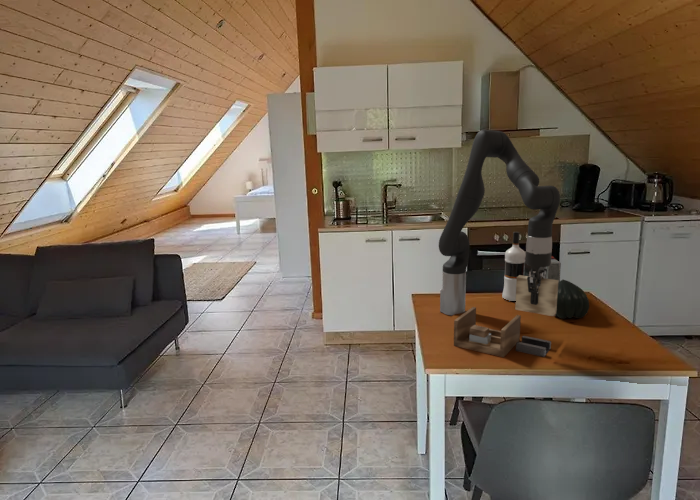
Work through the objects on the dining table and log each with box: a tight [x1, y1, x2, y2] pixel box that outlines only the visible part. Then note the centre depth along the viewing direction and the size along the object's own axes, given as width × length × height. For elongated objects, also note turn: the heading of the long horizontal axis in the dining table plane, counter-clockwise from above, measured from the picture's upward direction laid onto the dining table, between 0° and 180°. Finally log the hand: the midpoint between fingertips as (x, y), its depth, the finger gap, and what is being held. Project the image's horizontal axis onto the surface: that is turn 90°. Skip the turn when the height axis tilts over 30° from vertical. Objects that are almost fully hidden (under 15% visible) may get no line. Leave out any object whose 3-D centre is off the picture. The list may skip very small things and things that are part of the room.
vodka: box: [501, 231, 526, 302], centre depth 209 cm, size 9×9×30 cm
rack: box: [453, 306, 522, 358], centre depth 164 cm, size 17×16×10 cm
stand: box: [515, 335, 552, 358], centre depth 158 cm, size 9×8×4 cm
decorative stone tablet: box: [544, 255, 562, 283], centre depth 211 cm, size 19×6×30 cm
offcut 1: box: [470, 324, 490, 338], centre depth 161 cm, size 5×4×2 cm
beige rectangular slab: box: [514, 275, 558, 317], centre depth 155 cm, size 12×3×11 cm, turn 54°
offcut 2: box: [469, 334, 491, 344], centre depth 161 cm, size 6×4×2 cm, turn 58°
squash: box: [554, 279, 590, 319], centre depth 189 cm, size 14×15×15 cm
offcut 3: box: [469, 341, 490, 347], centre depth 162 cm, size 6×4×2 cm, turn 54°
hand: (535, 302), depth 155 cm, fingers closed on beige rectangular slab, 3 cm apart
